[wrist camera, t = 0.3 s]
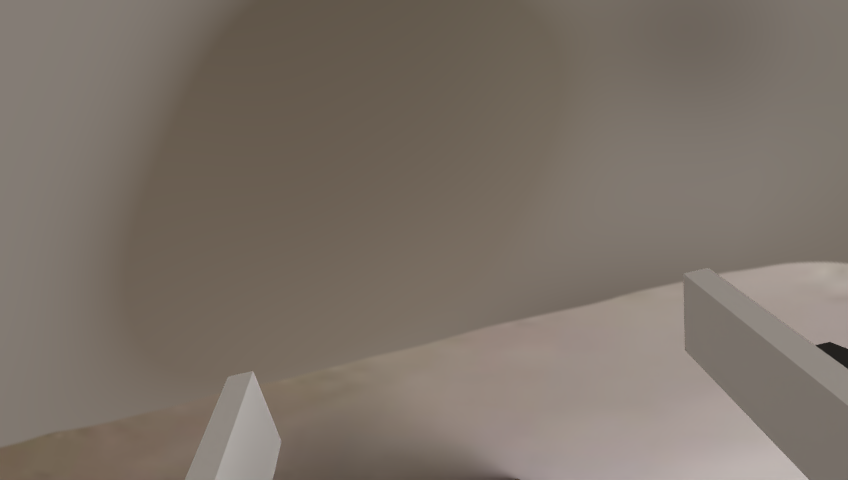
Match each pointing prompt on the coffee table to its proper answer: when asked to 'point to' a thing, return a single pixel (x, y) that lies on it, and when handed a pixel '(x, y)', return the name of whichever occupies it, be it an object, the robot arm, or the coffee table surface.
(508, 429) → the coffee table surface
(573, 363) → the coffee table surface
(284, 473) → the coffee table surface
